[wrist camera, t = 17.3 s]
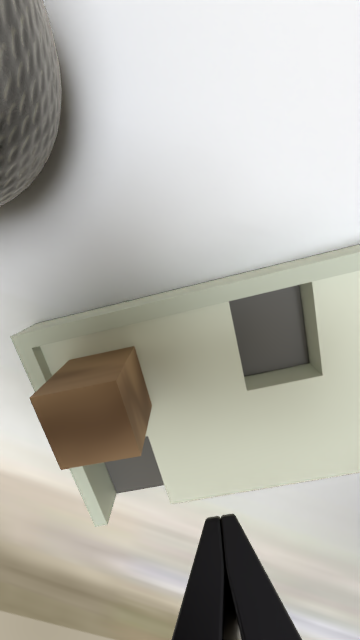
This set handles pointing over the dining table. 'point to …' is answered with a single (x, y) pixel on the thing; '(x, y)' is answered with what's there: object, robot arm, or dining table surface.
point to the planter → (26, 94)
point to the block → (95, 409)
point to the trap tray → (227, 380)
